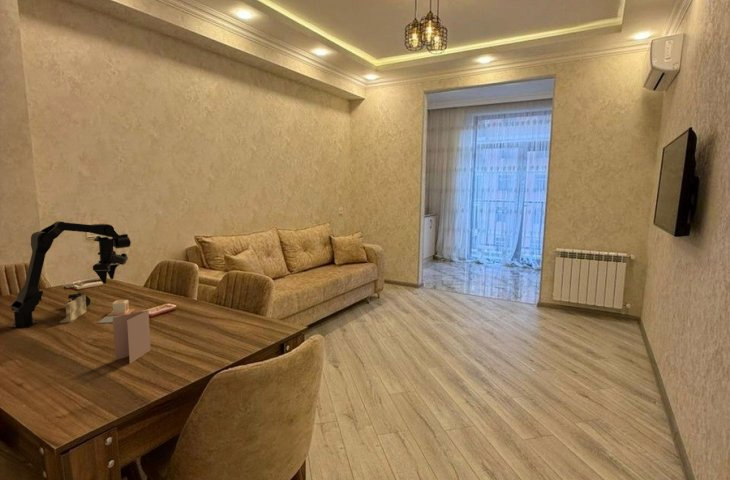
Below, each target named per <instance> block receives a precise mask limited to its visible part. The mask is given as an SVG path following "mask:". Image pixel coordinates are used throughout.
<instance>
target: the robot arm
mask: <svg viewBox="0 0 730 480" xmlns="http://www.w3.org/2000/svg"><path fill="white" fill-rule="evenodd" d="M64 231H66V232H67V231H68V232H69V231H70V232H77V233H78V232H80V233H82V232H83V233H91V234H93V235H94V234H95V235H97V236H96V237H95V238H94V239H93V242H98V249H99V252H98V253H97V255H98V256H99V260H98V262H97V263H95V264H94V265H93V266H92V271H94V272H95V273H96V274H97V276H98V278H99V279H100V280H101V282H102V283H103V284H107V279H108V276H109V279H110V280H114V277H115V273H116V270H117V268H118V267H119V266H120V265H122V266H124V265H125V264H126V263H127V261H128V260H129V258H128V256H127V253H121V254H117V253H116V250H114V248H115V249H125V248H130V246H131V239H130V237H129V235H128V233H123V234H118V233H117V232H116V230H115V228H114V226H113V225H112V224H108V223H92V224H87V223H86V224H85V223H77V222H74V223H73V222H67V221H66V222H65V221H61V220H59V221H55V222H54V223H52V224H51V225H49V226H47V227H45V228H43V229H41V230H40V231H35V232H33V233H32V234H31V237H30V246H31V251H32V252H31V257H30V261H29V265H28V269H27V274H26V278H25V280H24V281H25V282H24V285H23V286H22V288H21V289H20V290H19V292H18V294H17V296H16V300H15V301H14V302H13V303H12V304H11V305H10V306H9V308H10V309H11V310H12V311H13V315H14V324H13V325H12V326H10V328H11V329H17V328H30V327H31V326H33V325H35V324H37V323H38V321H37V320H34V318H33V317H34V316H33V313H34V312H35V310H36V307H37V306H38V305H39V304H40V302H42V296H43V294H44V290H41V289H39V284H40V281H41V276H42V272H43V267H44V264H45V263H44V262H45V259H46V255H47V253H48V251H49V250H50V249H51V247H52V245H53V243H54V240H55V239H56V238H58V237H59V236H60V235H61V234H63V232H64ZM101 236H102V237H101Z"/></svg>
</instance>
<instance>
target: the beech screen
mask: <svg viewBox="0 0 730 480" xmlns="http://www.w3.org/2000/svg"><path fill="white" fill-rule="evenodd" d="M86 296H87V294H85V295H81V296H79V297H78V298H76V299H74V300H73V301H72V300H70V301H71V302H69V301H68V302H67V303H65V315H66V317H65V318H64V319H62V320H60V321H59V323H60V324H67V323H72V322H74V321H76V319H78V318H79V317H81V316H82V315H84V314H85V313H86V312H87V311H88V310H87V307H86Z"/></svg>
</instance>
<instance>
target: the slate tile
mask: <svg viewBox="0 0 730 480" xmlns="http://www.w3.org/2000/svg"><path fill="white" fill-rule="evenodd" d="M120 316H123V315H120ZM113 317H118V316H107V315H106V316H105V317H103V318H102V319H101V320H99V321H98V322H97V324H99V325H100V324H113Z"/></svg>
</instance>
